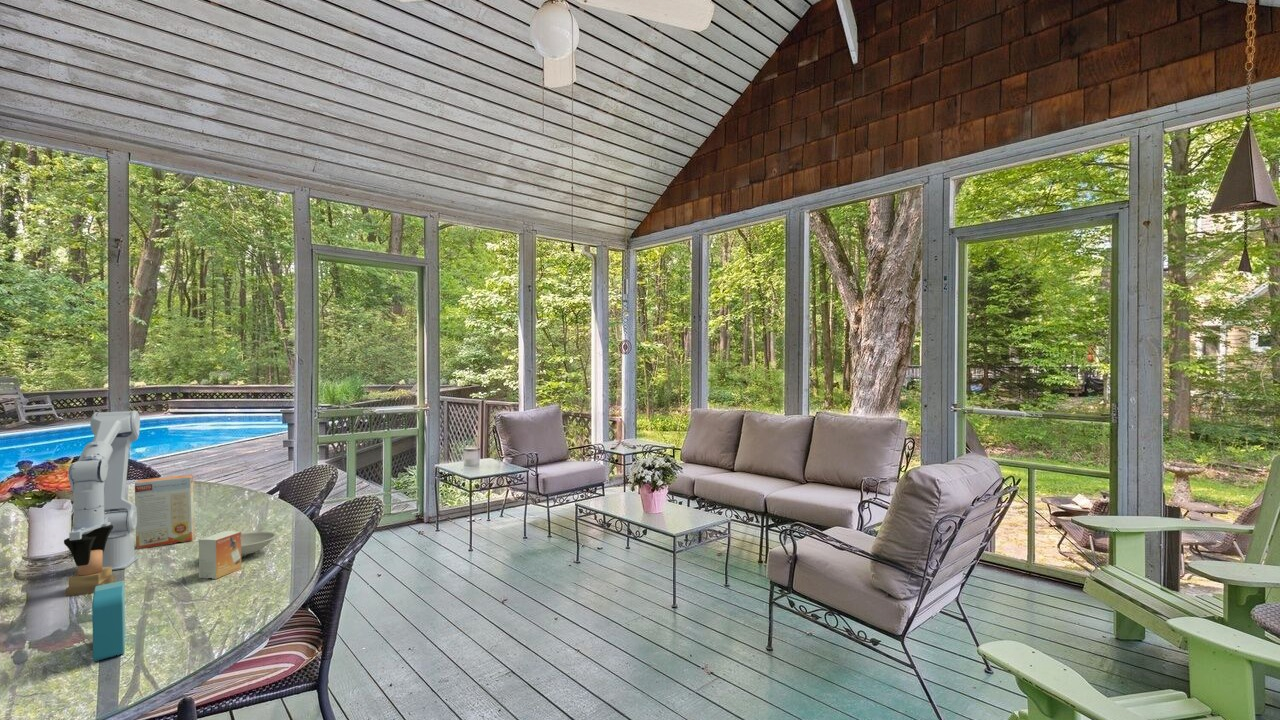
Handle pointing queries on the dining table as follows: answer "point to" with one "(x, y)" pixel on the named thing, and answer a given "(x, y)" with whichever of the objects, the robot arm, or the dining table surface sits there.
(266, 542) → the dish
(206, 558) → the small box
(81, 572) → the terracotta cylinder
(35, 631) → the dining table surface
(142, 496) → the cracker box
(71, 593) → the tan square slab
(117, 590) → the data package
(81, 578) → the oak top block
